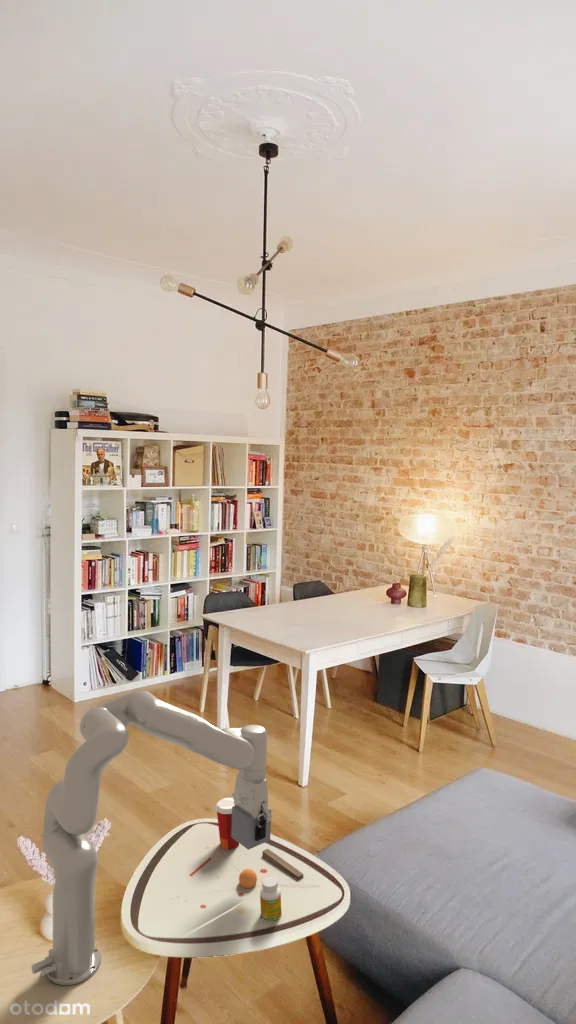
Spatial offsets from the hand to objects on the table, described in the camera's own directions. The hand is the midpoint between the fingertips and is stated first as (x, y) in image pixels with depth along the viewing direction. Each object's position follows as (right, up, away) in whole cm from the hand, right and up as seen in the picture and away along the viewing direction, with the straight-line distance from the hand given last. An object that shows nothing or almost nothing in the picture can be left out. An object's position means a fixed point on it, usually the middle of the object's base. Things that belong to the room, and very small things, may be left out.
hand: (250, 832), depth 189 cm
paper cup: (-8, -14, +20) cm, 26 cm away
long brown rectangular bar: (+9, -15, +9) cm, 20 cm away
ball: (-1, -13, +1) cm, 13 cm away
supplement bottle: (+6, -17, -11) cm, 21 cm away
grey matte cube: (0, -2, 0) cm, 2 cm away
